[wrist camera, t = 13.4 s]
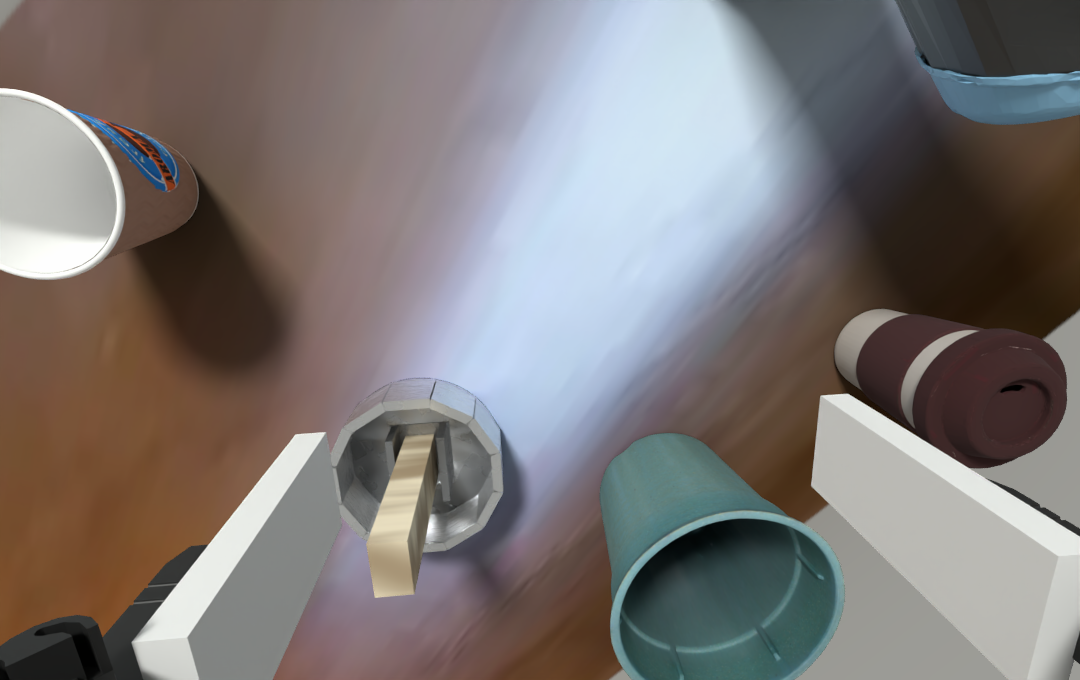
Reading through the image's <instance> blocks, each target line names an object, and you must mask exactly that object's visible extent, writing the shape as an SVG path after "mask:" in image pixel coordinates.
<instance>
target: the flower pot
mask: <svg viewBox="0 0 1080 680" xmlns="http://www.w3.org/2000/svg"><path fill="white" fill-rule="evenodd" d="M600 505H601V512H602V518H603V523H604V529H605V535H606V541H607V546H608V552H609V558H610V564H611V570H612V580H611V594H612V601H613V604H612V609H611V620H610V633H611V641H612V645H613V648H614V651H615V654H616V656H617V659H618V661H619V663H620V664H621V666H622V668H623V669H624V671H625V672H626V673H627V674H628V676H629V677H630V678H631V679H632V680H795V679H796V678H797V677H799V676H800V675H801V674H802V673H804V672H805V671H806V670H807V669H808V668H809V667H810V666H811V665H812V664H813V662H814V661H815V660H816V659H817V658H818V657H819V656H820V655H821V653H822V652H823V651H824V649H825V648H826V646H827V645H828V643H829V642H830V640H831V639H832V637H833V635H834V633H835V631H836V629H837V627H838V624H839V621H840V619H841V615H842V612H843V607H844V601H845V585H844V577H843V573H842V569H841V566H840V563H839V561H838V559H837V556H836V555H835V553H834V551H833V550H832V548H831V547H830V545H829V544H828V543H827V542H826V541H825V540H824V539H823V538H822V537H821V536H820V535H819V534H818V533H817V532H815V531H814V530H813V529H811V528H809V527H808V526H807V525H805V524H803V523H802V522H800V521H798V520H796V519H794V518H791V517H789V516H787V515H786V514H785V513H784V512H783V511H782V510H780V509H779V508H778V507H776V506H775V505H774V504H772V503H770V502H769V501H767V500H765V499H763V498H762V497H761V496H760V495H758V494H757V493H756V492H755V491H754V490H753V489H752V488H751V487H750V486H749V485H748V484H747V483H746V482H745V481H744V480H743V479H742V478H740V477H739V476H738V475H737V474H736V473H735V472H734V471H733V470H732V469H731V468H730V467H729V466H728V465H727V464H726V463H725V462H724V461H723V460H722V459H721V458H719V457H718V456H717V455H716V454H715V453H714V451H712V450H711V449H710V448H709V447H708V446H707V445H705V444H704V443H703V442H701V441H699V440H697V439H695V438H693V437H690V436H687V435H682V434H676V433H661V434H654V435H650V436H647V437H644V438H641V439H639V440H637V441H635V442H633V443H632V444H631V446H630V447H629V448H628V449H626V450H625V451H624V452H623V453H621V454H620V455H618V456H616V457H615V458H614V459H613V460H612V461H611V463H610V464H609V466H608V467H607V469H606V471H605V473H604V476H603V479H602V482H601V487H600Z"/></svg>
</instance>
